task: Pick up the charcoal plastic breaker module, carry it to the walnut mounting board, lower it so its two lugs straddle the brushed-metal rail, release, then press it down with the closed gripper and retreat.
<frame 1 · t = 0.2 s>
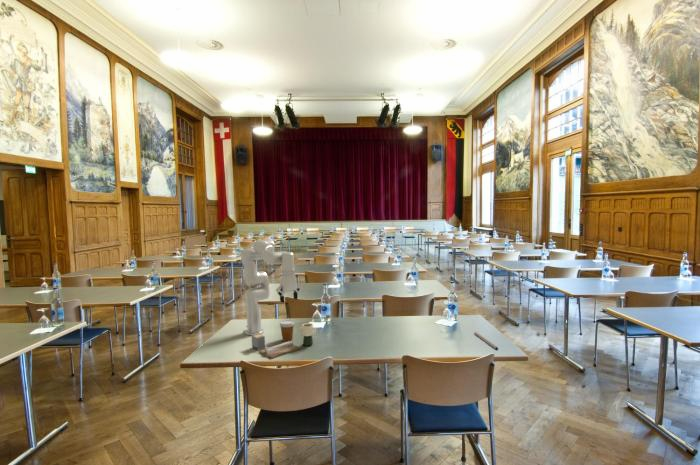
hand: (289, 300, 222), 31 cm above the table, fingers open, 9 cm apart
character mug: (308, 345, 232), on the table
metal rod: (485, 342, 232), on the table
rail board: (279, 350, 223), on the table
module: (258, 348, 228), on the table
disposable coffee cup: (287, 340, 241), on the table
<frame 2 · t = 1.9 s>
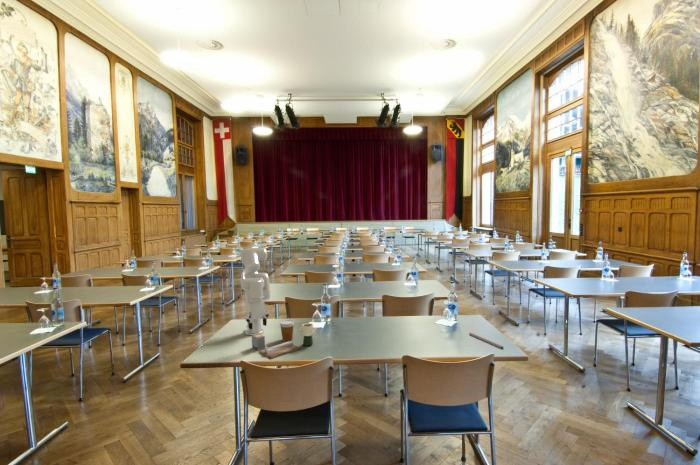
hand: (257, 327, 226), 14 cm above the table, fingers open, 9 cm apart
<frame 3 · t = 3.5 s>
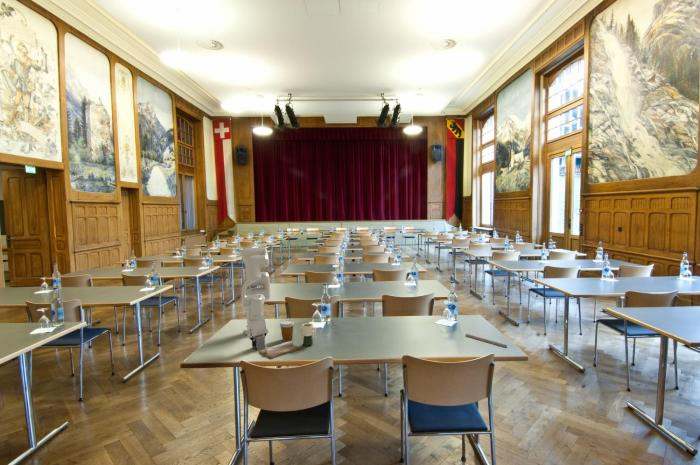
hand: (258, 345, 227), 2 cm above the table, fingers closed on module, 5 cm apart
module: (258, 348, 227), on the table, touching gripper
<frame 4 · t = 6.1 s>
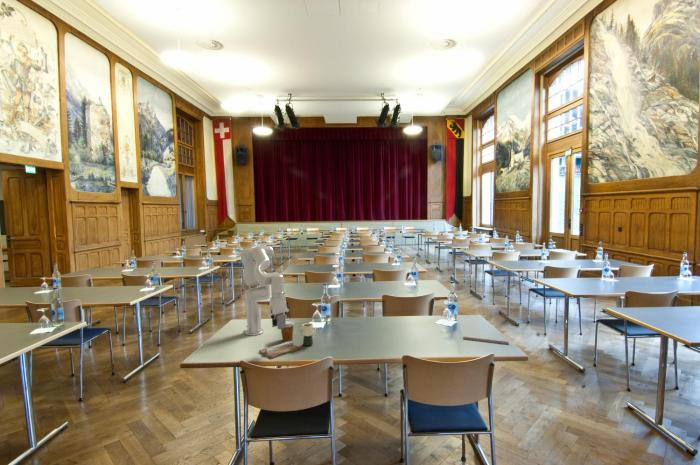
hand: (278, 324, 222), 17 cm above the table, fingers closed on module, 5 cm apart
module: (278, 327, 222), point 15 cm above the table, touching gripper
when the fingers open (4 cm above the table, at t = 8.6 s): module stays where it is, resting on rail board.
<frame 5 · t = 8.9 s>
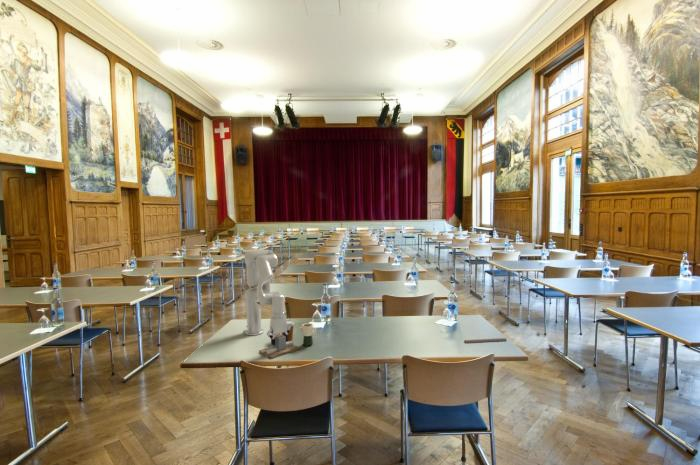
hand: (279, 342, 223), 5 cm above the table, fingers open, 8 cm apart
module: (279, 348, 223), point 1 cm above the table, touching rail board
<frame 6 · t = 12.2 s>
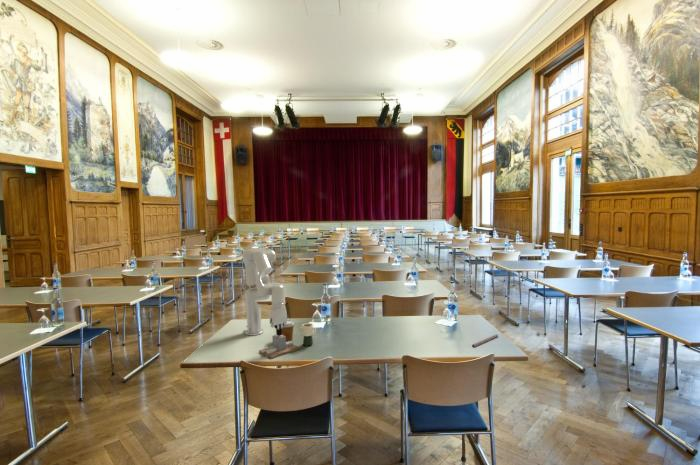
hand: (279, 334, 222), 10 cm above the table, fingers closed
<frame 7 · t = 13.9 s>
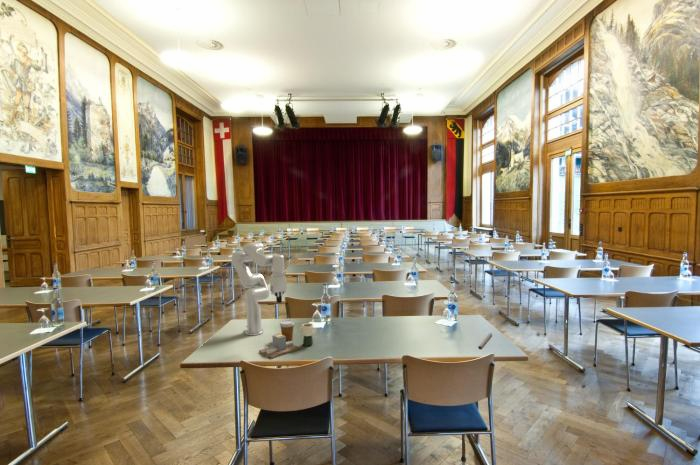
hand: (279, 302, 235), 27 cm above the table, fingers closed
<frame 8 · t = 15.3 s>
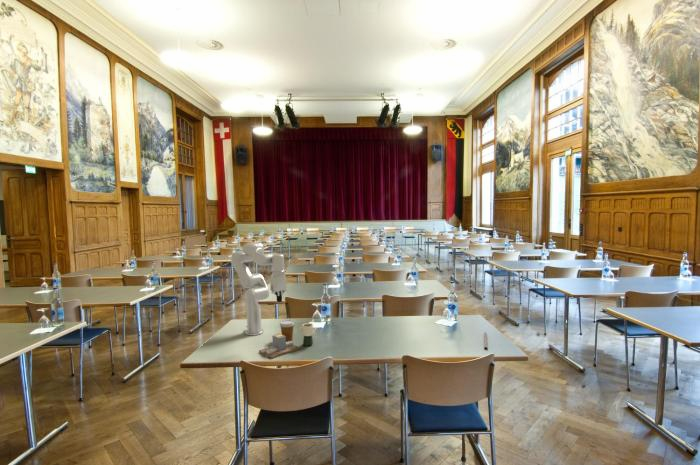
hand: (279, 301, 235), 27 cm above the table, fingers closed
at the end: module inside the target area on the rail board (0.0 cm from its centre), point 1.4 cm above the rail board's base; module tilted 0°; the gripper is holding nothing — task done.
